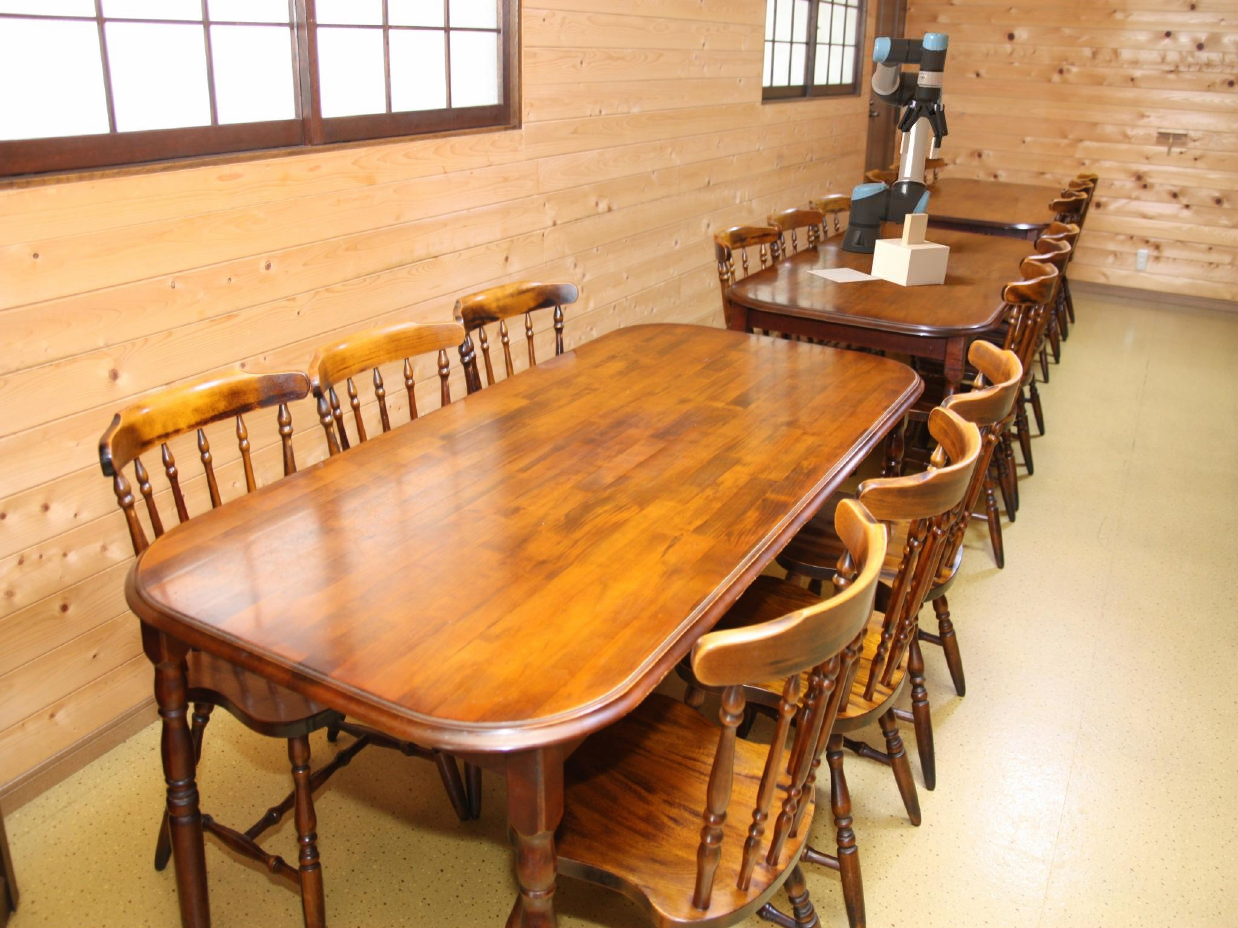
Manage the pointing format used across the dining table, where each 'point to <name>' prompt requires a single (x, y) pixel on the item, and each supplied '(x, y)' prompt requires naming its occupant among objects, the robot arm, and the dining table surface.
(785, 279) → the dining table surface
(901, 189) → the robot arm
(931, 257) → the cube with upright tab
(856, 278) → the mat
